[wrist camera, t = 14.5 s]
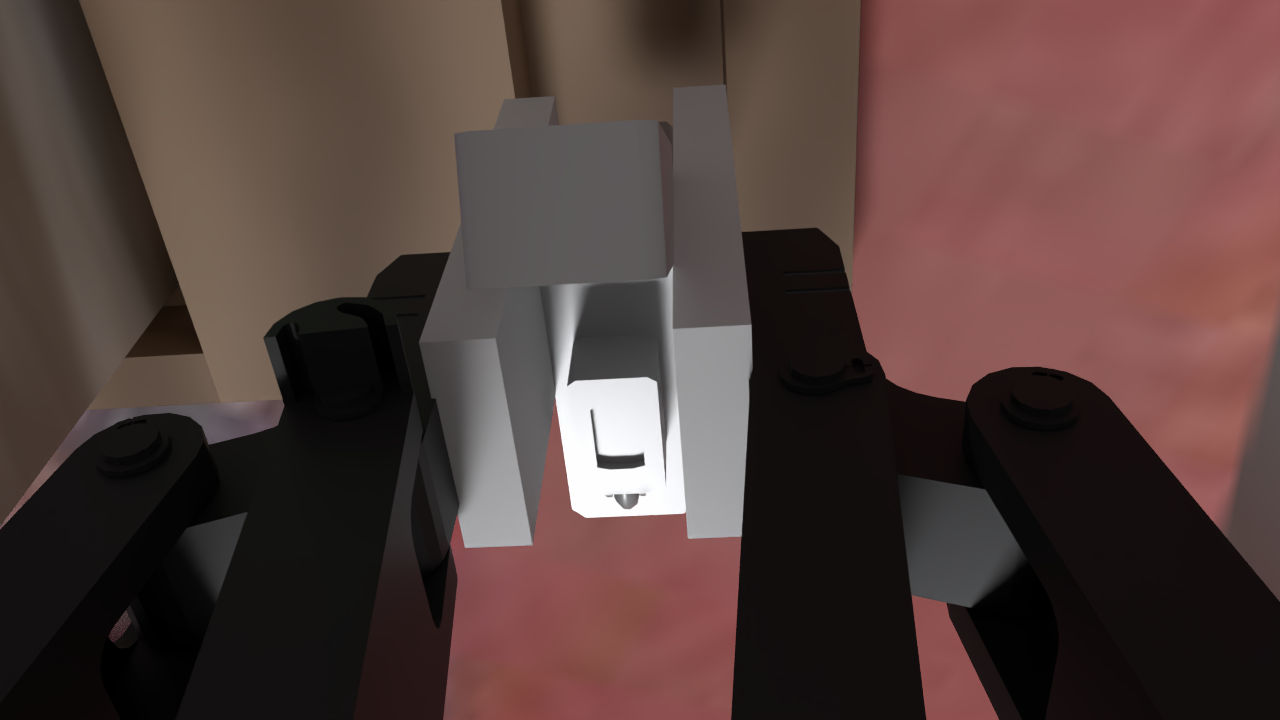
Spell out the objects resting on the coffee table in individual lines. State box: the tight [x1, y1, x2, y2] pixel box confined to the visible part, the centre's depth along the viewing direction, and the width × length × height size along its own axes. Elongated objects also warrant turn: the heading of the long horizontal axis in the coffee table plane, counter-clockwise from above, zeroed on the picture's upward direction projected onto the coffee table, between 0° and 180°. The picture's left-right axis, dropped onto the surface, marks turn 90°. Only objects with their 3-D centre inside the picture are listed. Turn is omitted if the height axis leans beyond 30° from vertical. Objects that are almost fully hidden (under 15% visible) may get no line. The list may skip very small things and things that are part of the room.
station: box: [0, 0, 861, 526], centre depth 17 cm, size 18×16×8 cm
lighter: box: [454, 120, 686, 518], centre depth 14 cm, size 7×2×8 cm, turn 5°
